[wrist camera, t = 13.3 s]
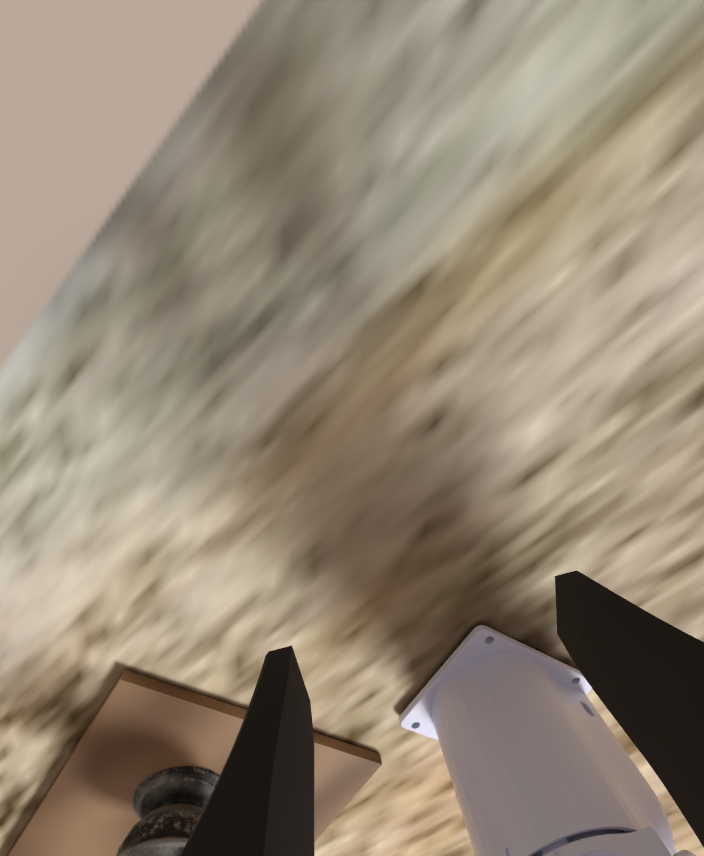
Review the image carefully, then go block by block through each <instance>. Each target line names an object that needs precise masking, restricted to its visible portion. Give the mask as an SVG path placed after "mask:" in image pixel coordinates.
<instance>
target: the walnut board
mask: <svg viewBox="0 0 704 856" xmlns="http://www.w3.org/2000/svg"><path fill="white" fill-rule="evenodd" d="M246 712H247V710H246V709H243V708H240V707H237V706H234V705H231V704H228V703H225V702H222V701H219V700H216V699H213V698H210V697H207V696H204V695H201V694H198V693H195V692H192V691H189V690H186V689H183V688H180V687H177V686H174V685H171V684H168V683H165V682H162V681H159V680H156V679H153V678H150V677H147V676H144V675H141V674H138V673H135V672H132V671H129V670H126V669H124V671H123V672H122V674H121V676H120V677H119V679H118V680H117V682H116V684H115V685H114V687H113V688H112V690H111V691H110V693H109V695H108V696H107V698H106V699H105V701H104V703H103V704H102V706H101V707H100V709H99V710H98V712H97V714H96V715H95V717H94V718H93V720H92V722H91V723H90V725H89V726H88V728H87V729H86V731H85V733H84V734H83V736H82V737H81V739H80V741H79V742H78V744H77V745H76V747H75V748H74V750H73V752H72V753H71V755H70V756H69V758H68V760H67V761H66V763H65V764H64V766H63V767H62V769H61V771H60V772H59V774H58V775H57V777H56V779H55V780H54V782H53V783H52V785H51V786H50V788H49V790H48V791H47V793H46V794H45V796H44V797H43V799H42V801H41V802H40V804H39V805H38V807H37V809H36V810H35V812H34V813H33V815H32V816H31V818H30V820H29V821H28V823H27V824H26V826H25V828H24V829H23V831H22V832H21V834H20V835H19V837H18V839H17V840H16V842H15V843H14V845H13V847H12V848H11V850H10V851H9V853H8V854H7V856H116V855H117V852H118V849H119V847H120V846H121V844H122V843H123V841H124V839H125V838H126V836H127V835H128V833H129V832H130V830H131V829H132V828H133V826H134V825H135V824H136V823H137V822H139V821H140V819H139V818H138V816H137V815H136V813H135V811H134V809H133V802H132V801H133V798H134V794H135V791H136V789H137V788H138V786H139V785H140V783H141V782H143V781H144V780H145V779H146V778H148V777H149V776H150V775H152V774H154V773H156V772H158V771H160V770H164V769H168V768H171V767H178V766H195V767H201V768H205V769H209V770H211V771H213V772H215V773H217V774H219V775H220V774H221V772H222V770H223V768H224V765H225V763H226V761H227V759H228V756H229V754H230V752H231V750H232V747H233V745H234V743H235V740H236V738H237V735H238V733H239V730H240V728H241V725H242V723H243V720H244V718H245V715H246ZM313 737H314V842H315V841H316V840H317V839H318V838H319V836H320V835H321V834H322V833H323V832H324V831H325V829H326V828H327V827H328V826H329V825H330V824H331V823H332V821H333V820H334V819H335V818H336V817H337V816H338V814H339V813H340V812H341V811H342V810H343V809H344V808H345V806H346V805H347V804H348V803H349V802H350V801H351V799H352V798H353V797H354V796H355V795H356V794H357V793H358V791H359V790H360V789H361V788H362V787H363V786H364V784H365V783H366V782H367V781H368V780H369V779H370V778H371V776H372V775H373V774H374V773H375V772H376V771H377V769H378V768H379V767H380V766H381V765H382V762H381V757H380V754H378V753H375V752H372V751H369V750H366V749H363V748H360V747H357V746H354V745H351V744H348V743H345V742H342V741H339V740H336V739H333V738H330V737H327V736H324V735H321V734H318V733H315V732H313Z"/></svg>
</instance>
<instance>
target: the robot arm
mask: <svg viewBox="0 0 704 856" xmlns="http://www.w3.org/2000/svg"><path fill="white" fill-rule="evenodd" d="M555 586H556V610H557V634H558V636H559V637H560V639H561V641H562V642H563V644H564V646H565V648H566V649H567V651H568V653H569V655H570V656H571V658H572V659H573V661H574V663H575V664H576V666H577V668H578V669H579V670H577V669H575V668H573V667H571V666H569V665H566V664H564V663H562V662H560V661H558V660H556V659H554V658H552V657H550V656H548V655H546V654H544V653H541V652H539V651H537V650H535V649H533V648H531V647H529V646H527V645H525V644H523V643H521V642H518V641H516V640H514V639H512V638H510V637H508V636H506V635H504V634H502V633H500V632H498V631H496V630H493V629H491V628H489V627H487V626H485V625H479V626H476V627H475V628H474V629H473V630H472V631H471V632H470V634H469V635H468V636H467V637H466V638H465V640H464V641H463V642H462V643H461V644H460V645H459V647H458V648H457V649H456V650H455V651H454V652H453V654H452V655H451V656H450V657H449V658H448V660H447V661H446V662H445V663H444V664H443V665H442V667H441V668H440V669H439V670H438V671H437V672H436V674H435V675H434V676H433V677H432V678H431V680H430V681H429V682H428V683H427V684H426V685H425V687H424V688H423V689H422V690H421V691H420V692H419V694H418V695H417V696H416V697H415V698H414V700H413V701H412V702H411V703H410V704H409V705H408V707H407V708H406V709H405V710H404V711H403V712H402V714H401V715H400V717H399V721H400V725H401V726H402V727H403V728H405V729H408V730H411V731H414V732H417V733H419V734H422V735H425V736H428V737H430V738H433V739H436V740H439V742H440V745H441V748H442V752H443V755H444V758H445V761H446V764H447V767H448V770H449V774H450V777H451V780H452V783H453V786H454V789H455V792H456V796H457V799H458V802H459V805H460V808H461V811H462V814H463V818H464V821H465V824H466V827H467V830H468V833H469V836H470V840H471V843H472V846H473V849H474V852H475V855H476V856H695V855H694V854H693V853H692V852H690V851H688V850H682V851H679V852H677V853H675V845H674V840H673V835H672V831H671V827H670V824H669V821H668V819H667V816H666V814H665V811H664V809H663V807H662V805H661V803H660V801H659V799H658V798H657V796H656V794H655V793H654V791H653V790H652V788H651V787H650V786H649V784H648V783H647V781H646V780H645V778H644V777H643V776H642V774H641V773H640V771H639V770H638V768H637V767H636V766H635V764H634V763H633V761H632V760H631V759H630V757H629V756H628V754H627V753H626V751H625V750H624V749H623V747H622V746H621V744H620V743H619V741H618V740H617V739H616V737H615V736H614V734H613V733H612V731H611V730H610V729H609V727H608V726H607V724H606V723H605V722H604V720H603V719H602V717H601V716H600V714H599V713H598V712H597V710H596V709H595V707H594V706H593V704H592V703H591V702H590V700H589V699H588V697H587V696H586V694H587V693H588V692H589V691H590V690H591V689H593V690H594V691H595V693H596V694H597V695H598V697H599V698H600V699H601V701H602V702H603V703H604V705H605V706H606V707H607V709H608V710H609V711H610V712H611V714H612V715H613V716H614V718H615V719H616V720H617V722H618V723H619V724H620V726H621V727H622V728H623V730H624V731H625V732H626V734H627V735H628V736H629V738H630V739H631V740H632V741H633V743H634V744H635V745H636V747H637V748H638V749H639V751H640V752H641V753H642V755H643V756H644V757H645V759H646V760H647V761H648V763H649V764H650V766H651V767H652V768H653V770H654V771H655V773H656V774H657V775H658V777H659V778H660V780H661V781H662V783H663V784H664V786H665V787H666V789H667V790H668V792H669V793H670V795H671V797H672V798H673V800H674V801H675V803H676V804H677V806H678V807H679V809H680V810H681V812H682V814H683V815H684V817H685V818H686V820H687V821H688V823H689V824H690V826H691V828H692V829H693V831H694V832H695V834H696V836H697V837H698V839H699V840H700V842H701V844H702V845H703V847H704V642H702V641H700V640H698V639H696V638H694V637H692V636H690V635H688V634H687V633H685V632H683V631H681V630H679V629H677V628H675V627H673V626H672V625H670V624H668V623H666V622H664V621H662V620H661V619H659V618H657V617H655V616H653V615H652V614H650V613H648V612H646V611H645V610H643V609H641V608H639V607H638V606H636V605H634V604H632V603H631V602H629V601H627V600H626V599H624V598H622V597H621V596H619V595H617V594H615V593H614V592H612V591H610V590H609V589H607V588H605V587H604V586H602V585H600V584H599V583H597V582H595V581H594V580H592V579H590V578H589V577H587V576H585V575H583V574H582V573H580V572H578V571H573V572H569V573H566V574H562V575H558V576H555ZM487 637H488V638H487ZM179 856H314V737H313V725H312V715H311V705H310V699H309V696H308V693H307V690H306V687H305V684H304V681H303V678H302V675H301V672H300V669H299V666H298V663H297V660H296V657H295V654H294V651H293V648H292V646H289V647H285V648H281V649H277V650H273V651H270V652H268V653H267V655H266V656H265V660H264V663H263V666H262V670H261V673H260V676H259V679H258V682H257V685H256V688H255V691H254V693H253V696H252V699H251V702H250V705H249V707H248V710H247V712H246V715H245V718H244V720H243V723H242V725H241V728H240V730H239V733H238V735H237V738H236V740H235V743H234V745H233V747H232V750H231V752H230V754H229V756H228V759H227V761H226V763H225V765H224V768H223V770H222V772H221V774H220V777H219V779H218V781H217V783H216V785H215V788H214V790H213V792H212V794H211V796H210V798H209V800H208V802H207V804H206V806H205V808H204V810H203V812H202V814H201V816H200V818H199V820H198V822H197V824H196V826H195V828H194V829H193V831H192V833H191V835H190V837H189V839H188V841H187V843H186V844H185V846H184V848H183V850H182V852H181V853H180V855H179Z"/></svg>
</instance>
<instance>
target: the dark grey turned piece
mask: <svg viewBox="0 0 704 856" xmlns="http://www.w3.org/2000/svg"><path fill="white" fill-rule="evenodd" d="M219 777H220V775H219V774H217V773H215V772H213V771H211V770H209V769H205V768H201V767H195V766H178V767H171V768H168V769H164V770H160V771H158V772H156V773H154V774H152V775H150V776H149V777H148V778H146V779H145V780H144V781H143V782H141V783H140V785H139V786H138V788H137V789H136V791H135V794H134V798H133V801H132V802H133V809H134V811H135V813H136V815H137V816H138V818H139V819H140V821H139V822H137V823H136V824H135V825H134V826H133V828H132V829H131V830H130V832H129V833H128V835H127V836H126V838H125V839H124V841H123V843H122V844H121V846H120V847H119V849H118V852H117V855H116V856H179V855H180V853H181V852H182V850H183V848H184V846H185V844H186V843H187V841H188V839H189V837H190V835H191V833H192V831H193V829H194V828H195V826H196V824H197V822H198V820H199V818H200V816H201V814H202V812H203V810H204V808H205V806H206V804H207V802H208V800H209V798H210V796H211V794H212V792H213V790H214V788H215V785H216V783H217V781H218V779H219Z"/></svg>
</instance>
